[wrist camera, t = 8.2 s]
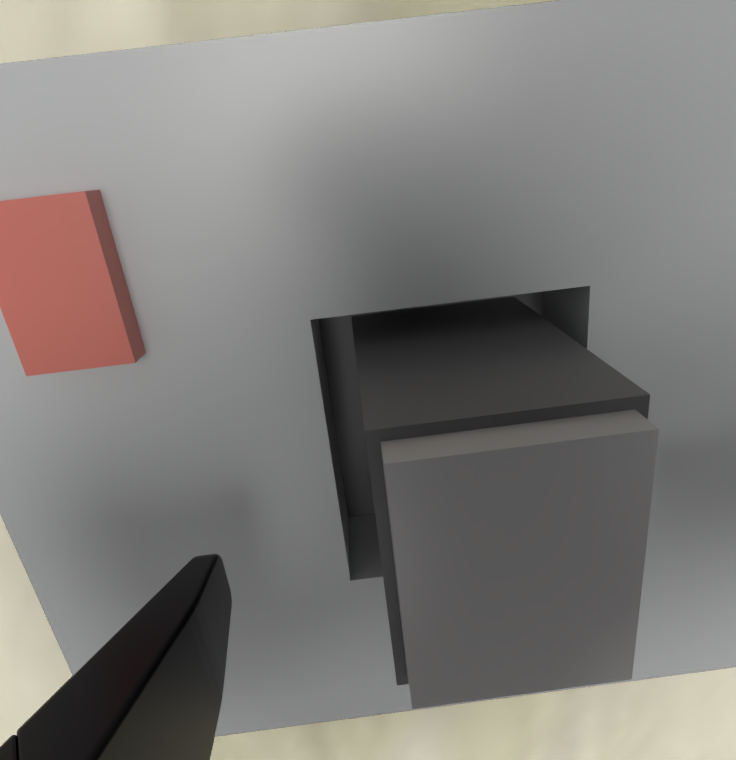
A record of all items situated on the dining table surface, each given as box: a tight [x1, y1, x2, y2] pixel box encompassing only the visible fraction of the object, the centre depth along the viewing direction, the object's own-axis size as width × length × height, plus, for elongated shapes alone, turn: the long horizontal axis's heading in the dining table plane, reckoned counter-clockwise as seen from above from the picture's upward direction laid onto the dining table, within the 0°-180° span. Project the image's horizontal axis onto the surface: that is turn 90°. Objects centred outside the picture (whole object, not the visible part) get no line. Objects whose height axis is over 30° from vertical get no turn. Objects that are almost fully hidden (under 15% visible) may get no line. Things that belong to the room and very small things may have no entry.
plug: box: [351, 297, 659, 709], centre depth 11 cm, size 4×5×7 cm
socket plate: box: [0, 0, 736, 736], centre depth 13 cm, size 20×16×4 cm
